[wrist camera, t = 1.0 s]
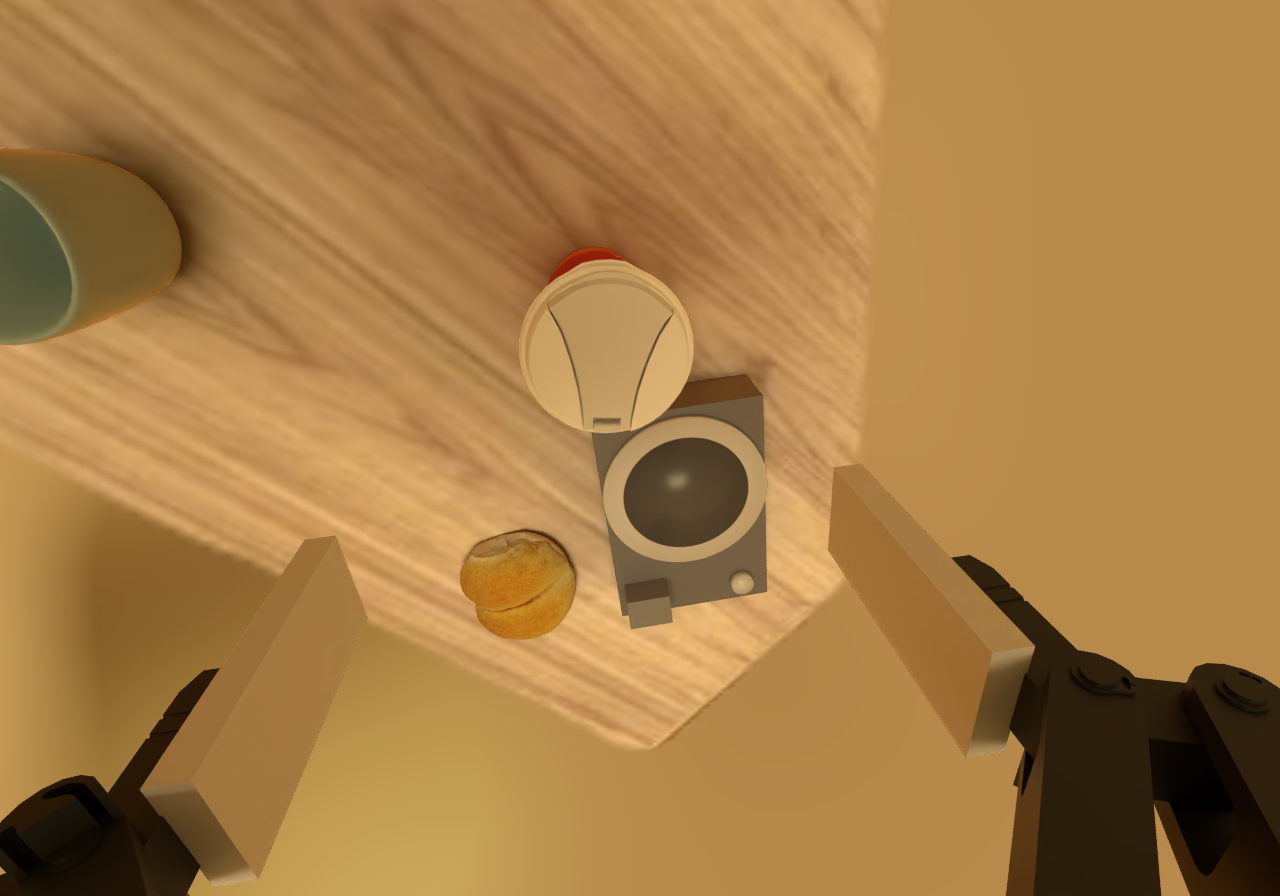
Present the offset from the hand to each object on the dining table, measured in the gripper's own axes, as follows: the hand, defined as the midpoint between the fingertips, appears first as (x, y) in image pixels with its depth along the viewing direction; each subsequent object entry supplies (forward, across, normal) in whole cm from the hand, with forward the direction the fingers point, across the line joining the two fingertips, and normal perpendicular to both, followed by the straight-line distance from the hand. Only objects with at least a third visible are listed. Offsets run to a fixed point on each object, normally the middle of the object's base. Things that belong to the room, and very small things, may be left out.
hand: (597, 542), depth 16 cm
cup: (+25, -24, +8) cm, 35 cm away
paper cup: (+25, +1, +1) cm, 25 cm away
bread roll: (+25, -7, -20) cm, 33 cm away
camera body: (+25, +6, -14) cm, 29 cm away
